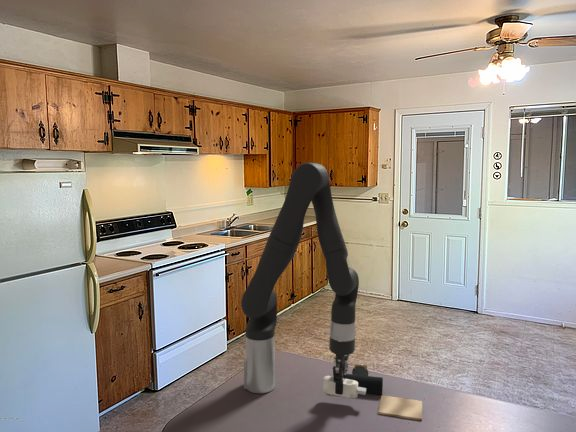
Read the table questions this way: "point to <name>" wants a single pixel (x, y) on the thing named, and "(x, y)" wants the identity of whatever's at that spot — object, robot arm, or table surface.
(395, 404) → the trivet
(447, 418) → the table surface
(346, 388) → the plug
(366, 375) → the pipe connector
